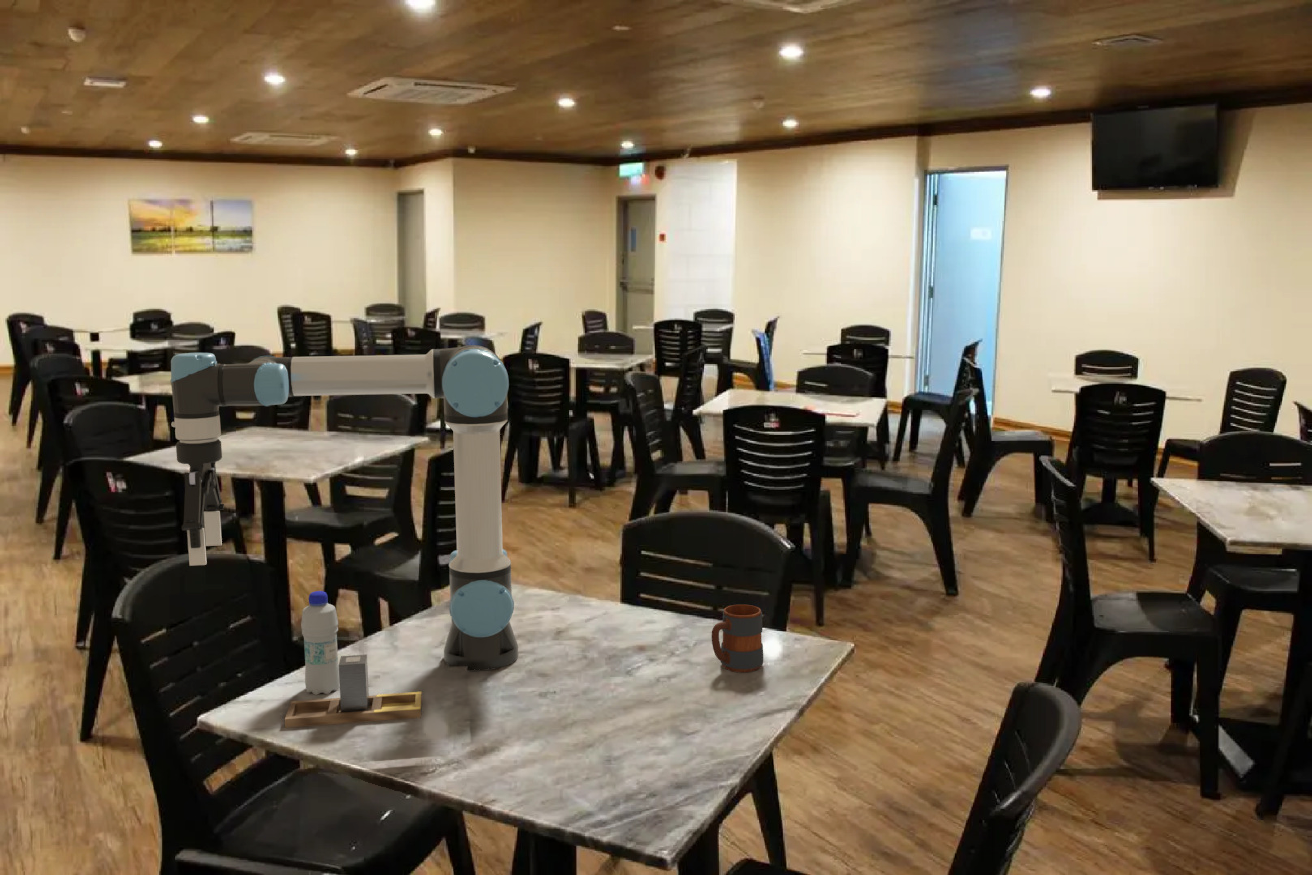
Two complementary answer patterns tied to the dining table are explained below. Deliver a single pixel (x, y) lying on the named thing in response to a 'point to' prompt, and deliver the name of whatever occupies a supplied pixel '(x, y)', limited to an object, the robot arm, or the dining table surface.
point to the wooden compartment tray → (331, 712)
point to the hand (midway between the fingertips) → (206, 554)
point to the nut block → (354, 683)
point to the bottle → (320, 644)
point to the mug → (739, 638)
